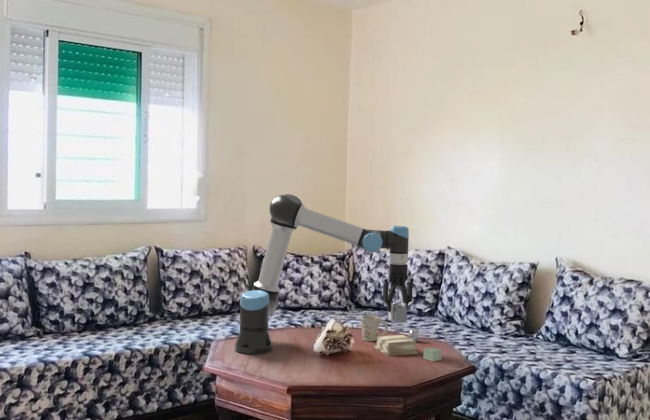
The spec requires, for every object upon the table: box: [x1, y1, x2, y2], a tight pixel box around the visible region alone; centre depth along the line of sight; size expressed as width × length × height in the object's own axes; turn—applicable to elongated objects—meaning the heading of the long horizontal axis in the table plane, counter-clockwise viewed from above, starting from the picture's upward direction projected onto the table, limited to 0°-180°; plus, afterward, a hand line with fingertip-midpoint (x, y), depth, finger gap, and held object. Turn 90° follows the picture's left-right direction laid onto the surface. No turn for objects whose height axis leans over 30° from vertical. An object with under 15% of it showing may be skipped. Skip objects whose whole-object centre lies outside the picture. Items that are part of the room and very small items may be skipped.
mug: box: [360, 315, 389, 342], centre depth 294 cm, size 8×13×10 cm, turn 107°
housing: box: [386, 301, 408, 323], centre depth 275 cm, size 5×8×7 cm, turn 19°
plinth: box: [373, 334, 419, 357], centre depth 275 cm, size 14×14×5 cm
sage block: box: [423, 347, 442, 362], centre depth 264 cm, size 5×5×4 cm
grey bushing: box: [408, 328, 420, 343], centre depth 293 cm, size 4×4×5 cm
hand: (396, 318), depth 275 cm, fingers closed on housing, 5 cm apart
